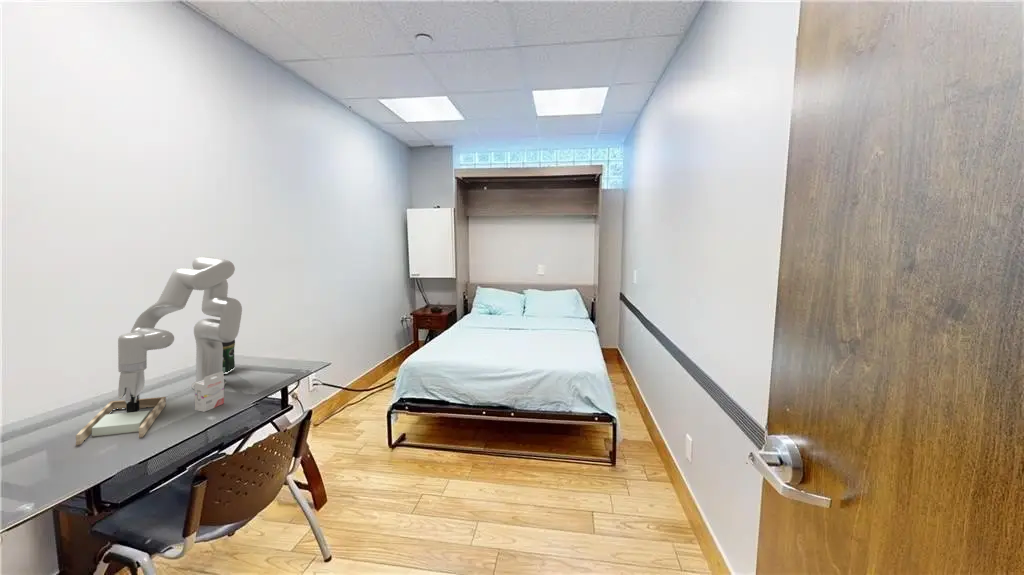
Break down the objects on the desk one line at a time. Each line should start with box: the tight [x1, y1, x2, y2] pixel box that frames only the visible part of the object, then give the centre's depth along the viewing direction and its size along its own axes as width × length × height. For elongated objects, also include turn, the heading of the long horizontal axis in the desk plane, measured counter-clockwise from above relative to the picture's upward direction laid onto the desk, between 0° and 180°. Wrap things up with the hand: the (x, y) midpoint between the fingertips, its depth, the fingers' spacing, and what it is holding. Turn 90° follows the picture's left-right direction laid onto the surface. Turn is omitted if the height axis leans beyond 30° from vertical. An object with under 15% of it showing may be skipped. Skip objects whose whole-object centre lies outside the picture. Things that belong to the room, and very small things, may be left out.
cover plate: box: [91, 410, 151, 437], centre depth 133 cm, size 10×12×4 cm
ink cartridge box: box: [194, 371, 225, 413], centre depth 153 cm, size 9×5×15 cm, turn 168°
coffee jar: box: [222, 338, 236, 373], centre depth 186 cm, size 10×8×19 cm
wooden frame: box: [75, 396, 167, 446], centre depth 136 cm, size 26×16×4 cm, turn 30°
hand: (133, 411), depth 142 cm, fingers closed
